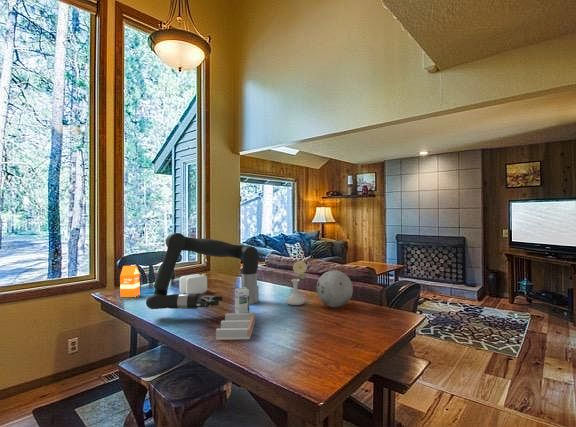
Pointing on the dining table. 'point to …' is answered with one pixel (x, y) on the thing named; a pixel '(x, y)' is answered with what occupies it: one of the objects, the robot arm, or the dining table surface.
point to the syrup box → (242, 300)
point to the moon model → (334, 288)
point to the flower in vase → (296, 297)
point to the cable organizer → (193, 284)
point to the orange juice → (129, 282)
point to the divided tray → (236, 326)
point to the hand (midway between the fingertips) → (220, 300)
